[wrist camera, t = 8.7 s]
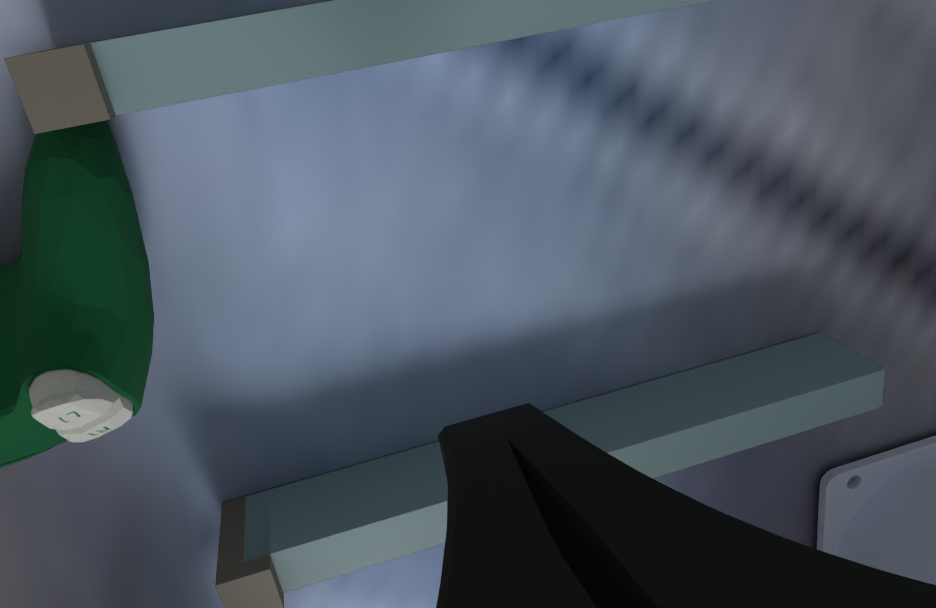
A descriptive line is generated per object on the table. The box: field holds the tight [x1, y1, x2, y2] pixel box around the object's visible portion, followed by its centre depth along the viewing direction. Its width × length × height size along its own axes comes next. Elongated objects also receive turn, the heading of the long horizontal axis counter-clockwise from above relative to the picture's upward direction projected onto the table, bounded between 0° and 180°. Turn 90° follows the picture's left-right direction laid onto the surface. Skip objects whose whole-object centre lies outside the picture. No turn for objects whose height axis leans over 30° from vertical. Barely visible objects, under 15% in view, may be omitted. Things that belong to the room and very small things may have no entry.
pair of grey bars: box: [4, 0, 885, 608], centre depth 17 cm, size 18×12×3 cm
